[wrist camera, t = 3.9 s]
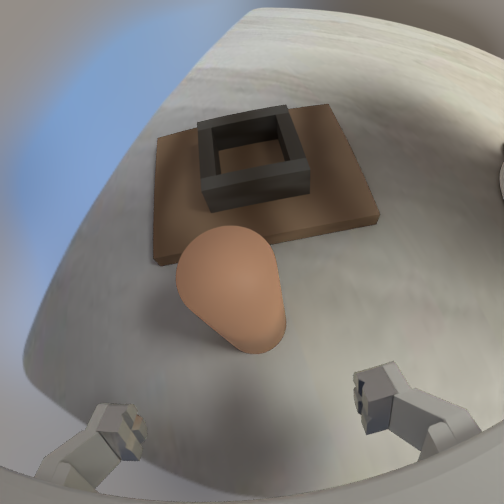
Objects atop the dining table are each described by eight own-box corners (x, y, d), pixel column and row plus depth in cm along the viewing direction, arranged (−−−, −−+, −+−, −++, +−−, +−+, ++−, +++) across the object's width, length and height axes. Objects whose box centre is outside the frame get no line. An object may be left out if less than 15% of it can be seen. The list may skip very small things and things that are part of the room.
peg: (280, 289, 23) (266, 217, 14) (291, 347, 21) (286, 310, 12) (221, 300, 23) (173, 236, 14) (229, 358, 21) (179, 329, 12)
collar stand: (327, 114, 31) (329, 80, 27) (376, 224, 24) (388, 191, 20) (162, 147, 32) (147, 117, 28) (160, 266, 25) (136, 240, 21)
